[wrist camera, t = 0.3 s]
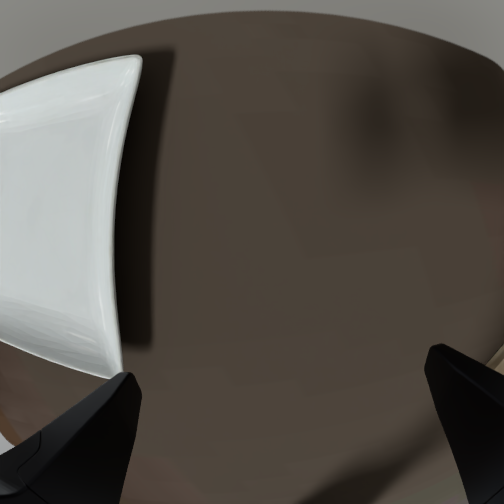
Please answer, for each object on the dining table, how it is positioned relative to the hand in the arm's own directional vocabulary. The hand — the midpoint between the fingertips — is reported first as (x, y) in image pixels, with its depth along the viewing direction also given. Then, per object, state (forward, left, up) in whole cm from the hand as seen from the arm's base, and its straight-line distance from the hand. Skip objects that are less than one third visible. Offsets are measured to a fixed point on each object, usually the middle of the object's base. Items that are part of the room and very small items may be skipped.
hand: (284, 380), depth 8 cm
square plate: (-8, +24, -16) cm, 30 cm away
